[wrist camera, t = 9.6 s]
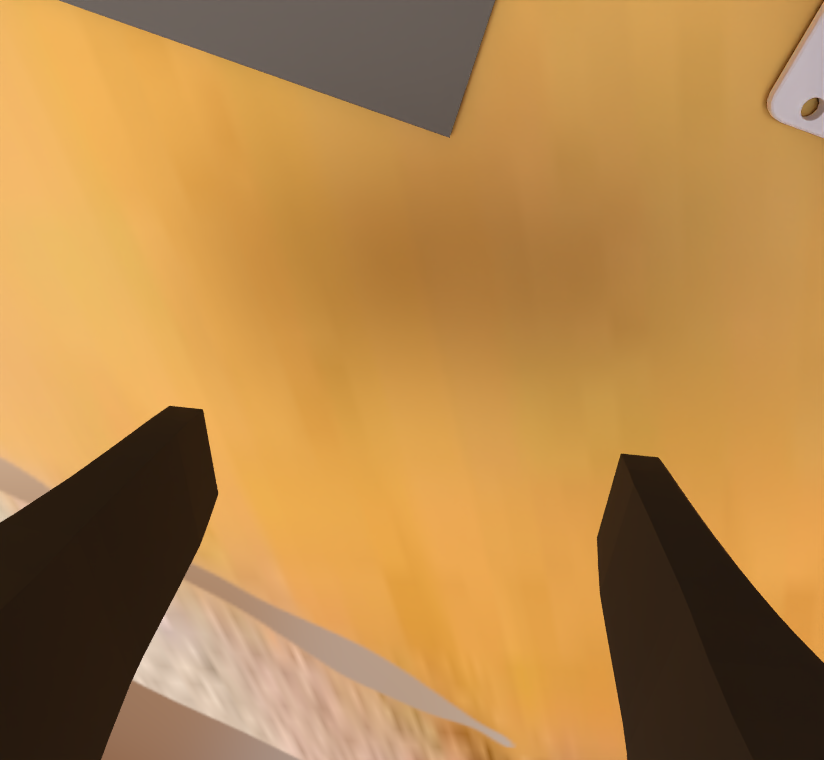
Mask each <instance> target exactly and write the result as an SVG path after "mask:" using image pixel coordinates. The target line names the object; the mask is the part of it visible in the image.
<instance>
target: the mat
mask: <svg viewBox="0 0 824 760" xmlns="http://www.w3.org/2000/svg"><path fill="white" fill-rule="evenodd" d="M60 1H62V2H65V3H68V4H71V5H74V6H77V7H80V8H82V9H85V10H88V11H91V12H94V13H97V14H99V15H102V16H105V17H108V18H111V19H114V20H116V21H119V22H122V23H125V24H128V25H131V26H134V27H136V28H139V29H142V30H145V31H148V32H151V33H153V34H156V35H159V36H162V37H165V38H168V39H170V40H173V41H176V42H179V43H182V44H185V45H188V46H190V47H193V48H196V49H199V50H202V51H205V52H207V53H210V54H213V55H216V56H219V57H222V58H224V59H227V60H230V61H233V62H236V63H239V64H241V65H244V66H247V67H250V68H253V69H256V70H259V71H261V72H264V73H267V74H270V75H273V76H276V77H278V78H281V79H284V80H287V81H290V82H293V83H295V84H298V85H301V86H304V87H307V88H310V89H313V90H315V91H318V92H321V93H324V94H327V95H330V96H332V97H335V98H338V99H341V100H344V101H347V102H349V103H352V104H355V105H358V106H361V107H364V108H367V109H369V110H372V111H375V112H378V113H381V114H384V115H386V116H389V117H392V118H395V119H398V120H401V121H403V122H406V123H409V124H412V125H415V126H418V127H420V128H423V129H426V130H429V131H432V132H435V133H438V134H440V135H443V136H446V137H449V138H450V135H451V132H452V129H453V126H454V123H455V120H456V117H457V114H458V111H459V108H460V105H461V101H462V98H463V95H464V92H465V89H466V86H467V83H468V80H469V77H470V74H471V71H472V68H473V65H474V62H475V59H476V56H477V53H478V50H479V47H480V44H481V41H482V38H483V35H484V32H485V29H486V26H487V23H488V20H489V17H490V14H491V11H492V8H493V5H494V2H495V0H60Z"/></svg>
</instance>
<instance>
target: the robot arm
mask: <svg viewBox="0 0 824 760" xmlns="http://www.w3.org/2000/svg"><path fill="white" fill-rule="evenodd" d="M812 98H818V99H819V105H818V108H817V110H816V111H815V112H814V113H813V114H811V115H809V116H806V117H805V116H801V109H802V106H803V105H804V104H805V103H806V102H807V100H809V99H812ZM767 109H768V111H769V113H770V115H771V116H772V117H774V118H775V119H776V120H778V121H779V122H781V123H784V124H787V125H789V126H792V127H795V128H797V129H800V130H803V131H806V132H808V133H811V134H814V135H816V136H819V137H822V138H824V2H823V4H822V5H821V7H820V9H819V10H818V12H817V14H816V15H815V17H814V19H813V21H812V22H811V24H810V26H809V27H808V29H807V31H806V32H805V34H804V36H803V37H802V39H801V41H800V42H799V44H798V46H797V48H796V49H795V51H794V53H793V54H792V56H791V58H790V59H789V61H788V63H787V64H786V66H785V68H784V70H783V71H782V73H781V75H780V76H779V78H778V80H777V81H776V83H775V85H774V86H773V88H772V90H771V91H770V94H769V96H768V99H767ZM217 496H218V490H217V484H216V479H215V473H214V468H213V462H212V457H211V451H210V446H209V440H208V435H207V429H206V424H205V418H204V413H203V409H194V408H185V407H175V406H169V407H167V408H166V409H164V410H163V411H161V412H160V413H158V414H157V415H156V416H154V417H153V418H151V419H150V420H149V421H147V422H146V423H145V424H143V425H142V426H140V427H139V428H138V429H136V430H135V431H134V432H132V433H131V434H130V435H128V436H127V437H125V438H124V439H123V440H121V441H120V442H119V443H117V444H116V445H115V446H113V447H112V448H110V449H109V450H108V451H106V452H105V453H104V454H102V455H101V456H99V457H98V458H97V459H95V460H94V461H92V462H91V463H90V464H88V465H87V466H85V467H84V468H83V469H81V470H80V471H78V472H77V473H76V474H74V475H73V476H71V477H70V478H68V479H67V480H65V481H64V482H62V483H61V484H59V485H58V486H56V487H55V488H53V489H52V490H50V491H49V492H47V493H46V494H44V495H43V496H41V497H39V498H38V499H36V500H35V501H33V502H32V503H30V504H29V505H27V506H26V507H24V508H23V509H21V510H20V511H18V512H17V513H15V514H14V515H12V516H10V517H9V518H7V519H5V520H4V521H2V522H0V760H101V758H102V755H103V753H104V750H105V747H106V744H107V742H108V739H109V736H110V734H111V731H112V729H113V726H114V724H115V721H116V719H117V716H118V714H119V711H120V709H121V706H122V704H123V701H124V699H125V696H126V694H127V691H128V689H129V686H130V684H131V681H132V679H133V677H134V675H135V673H136V671H137V668H138V666H139V664H140V662H141V660H142V658H143V656H144V654H145V652H146V650H147V648H148V646H149V644H150V642H151V640H152V638H153V636H154V634H155V632H156V630H157V629H158V627H159V625H160V623H161V621H162V619H163V617H164V615H165V613H166V611H167V609H168V607H169V605H170V603H171V601H172V600H173V598H174V596H175V594H176V592H177V590H178V588H179V586H180V584H181V582H182V580H183V578H184V576H185V574H186V572H187V570H188V568H189V566H190V564H191V562H192V560H193V558H194V556H195V554H196V552H197V550H198V548H199V546H200V544H201V541H202V539H203V536H204V533H205V531H206V528H207V525H208V523H209V520H210V517H211V514H212V511H213V508H214V505H215V502H216V499H217ZM597 547H598V570H599V586H600V597H601V603H602V609H603V615H604V620H605V626H606V632H607V638H608V643H609V649H610V654H611V660H612V665H613V671H614V677H615V682H616V688H617V693H618V699H619V704H620V710H621V716H622V721H623V728H624V735H625V743H626V750H627V760H824V663H823V662H822V661H821V660H820V659H819V658H818V657H817V656H816V655H815V654H814V653H813V652H812V650H811V649H810V648H809V647H808V646H807V645H806V644H805V643H804V642H803V641H802V640H801V639H800V638H799V637H798V636H797V635H796V634H795V633H794V632H793V631H792V630H791V629H790V628H789V626H788V625H787V624H786V623H785V622H784V621H783V620H782V619H781V618H780V617H779V615H778V614H777V613H776V612H775V611H774V610H773V608H772V607H771V606H770V605H769V604H768V603H767V601H766V600H765V599H764V598H763V597H762V596H761V594H760V593H759V592H758V591H757V590H756V588H755V587H754V586H753V585H752V584H751V582H750V581H749V580H748V579H747V577H746V576H745V575H744V574H743V572H742V571H741V570H740V569H739V568H738V566H737V565H736V564H735V562H734V561H733V560H732V558H731V557H730V556H729V554H728V553H727V552H726V551H725V549H724V548H723V547H722V545H721V544H720V543H719V541H718V540H717V539H716V538H715V536H714V535H713V534H712V532H711V531H710V529H709V528H708V527H707V525H706V524H705V523H704V521H703V520H702V518H701V517H700V516H699V514H698V513H697V511H696V510H695V509H694V507H693V506H692V504H691V503H690V502H689V500H688V499H687V497H686V496H685V494H684V493H683V492H682V490H681V489H680V487H679V486H678V484H677V483H676V481H675V480H674V478H673V477H672V476H671V474H670V473H669V471H668V470H667V468H666V467H665V466H664V464H663V463H662V462H661V460H660V459H659V458H658V457H648V456H639V455H629V454H621V455H620V459H619V462H618V466H617V469H616V473H615V476H614V480H613V483H612V487H611V490H610V494H609V497H608V501H607V505H606V508H605V512H604V515H603V519H602V522H601V526H600V529H599V533H598V536H597Z"/></svg>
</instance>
